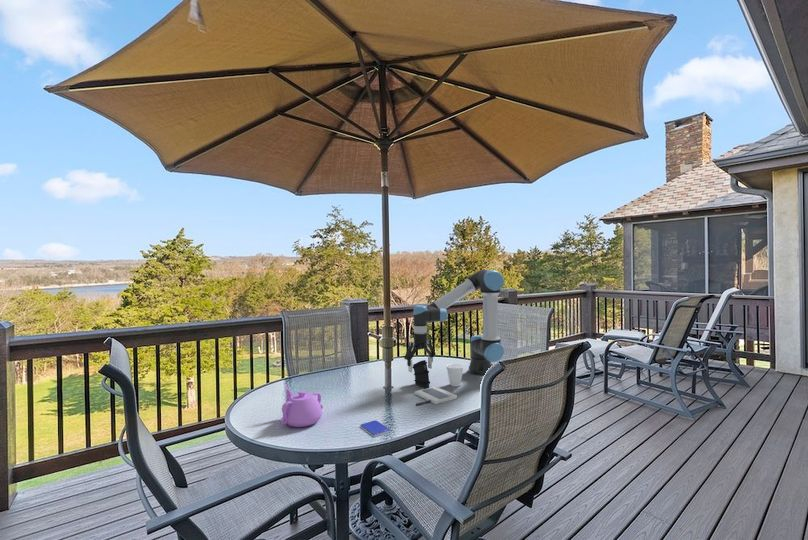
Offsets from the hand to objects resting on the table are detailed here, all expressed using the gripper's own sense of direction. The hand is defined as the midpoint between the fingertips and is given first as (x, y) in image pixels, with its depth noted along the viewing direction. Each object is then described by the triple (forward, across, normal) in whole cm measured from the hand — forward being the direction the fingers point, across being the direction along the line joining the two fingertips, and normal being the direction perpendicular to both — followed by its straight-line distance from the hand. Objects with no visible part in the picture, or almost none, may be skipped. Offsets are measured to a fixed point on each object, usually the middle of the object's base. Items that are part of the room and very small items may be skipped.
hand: (420, 369), depth 225 cm
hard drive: (+10, +49, +36) cm, 61 cm away
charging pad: (+9, +8, +19) cm, 23 cm away
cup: (+9, -16, +11) cm, 22 cm away
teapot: (+10, +72, +8) cm, 74 cm away
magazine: (+9, 0, 0) cm, 9 cm away
